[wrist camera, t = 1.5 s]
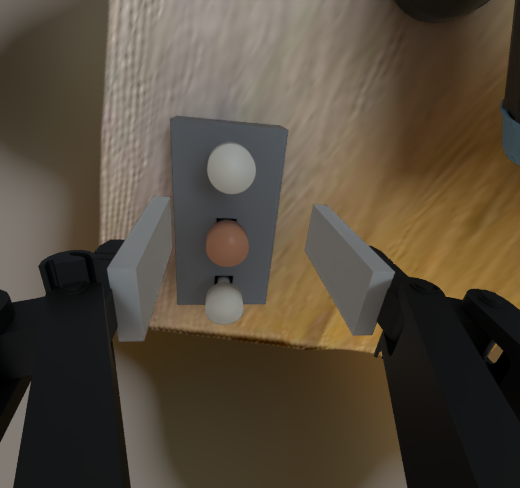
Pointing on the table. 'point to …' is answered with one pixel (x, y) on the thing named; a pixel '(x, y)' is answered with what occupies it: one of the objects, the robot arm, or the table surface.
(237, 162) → the cream knob
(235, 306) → the cream knob
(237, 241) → the rust knob middle
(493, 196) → the table surface
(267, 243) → the knob panel
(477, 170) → the table surface
